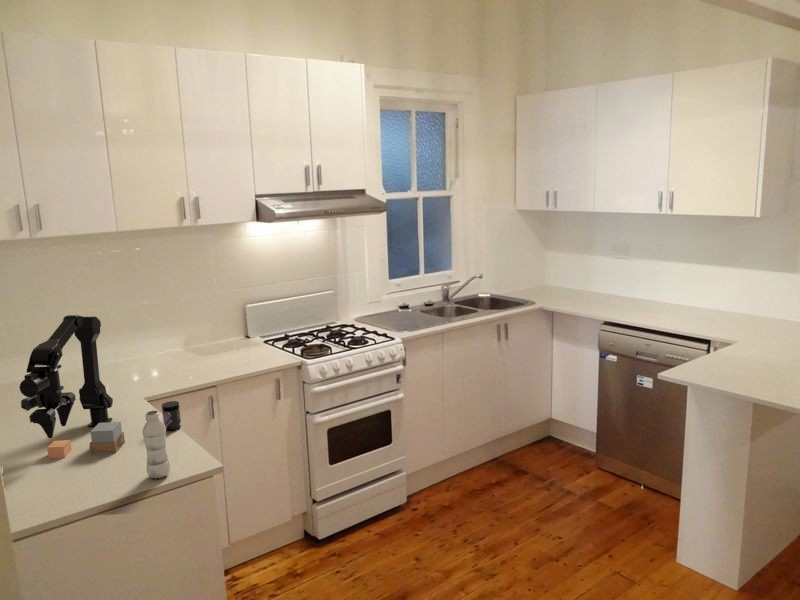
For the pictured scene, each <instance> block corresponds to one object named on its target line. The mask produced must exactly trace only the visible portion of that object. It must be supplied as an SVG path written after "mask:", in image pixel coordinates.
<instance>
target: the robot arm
mask: <svg viewBox="0 0 800 600" xmlns="http://www.w3.org/2000/svg"><path fill="white" fill-rule="evenodd" d="M101 327H102V322H101V320H100V318H98V317H97V316H82V315H79V314H75V315H72V314H70V315H69V314H68V315H65V316H64V317H63V319H62V322H61V323H60V324H59V325H58V327H57V328H56V329H55V331H54V332H53V333H52V334H51V336H50V337H49V338H48V339H47V340H46V341H43V342H42V343H39V344H38V345H37V346H35V347H34V348H33V350H32V351H31V353H30V355H29V359H28V364H27V368H26V373H27V374H25V375H24V377H23V378H24V379H23V380H22V381H20V383H19V391H20V393H21V394H22V395H23V396H24V397H26V398H23V399H22V400H21V401H20V405H21V406H20V408H21V409H23V410H24V411H26V412H28V411H30V410H31V409H34V408H36V407H37V409H35V410H34V411H33V412H31V413H30V415H28V416H29V417H28V418H29V423H34V424H37V425H39V426H40V427H41V428H42V430H43V431H44V433H45V434H46V436H47V438H48V439H52V438H53V437H54V434H55V433H54V432H55V428H56V422H57V416H56V415H58V419H59V422H60V425H61V427H66V426H67V422H68V420H69V416H70V414H71V411H72V410H73V409H72V408H73V406H74V404H75V401H76V400H77V399H76V395H75V393H74V392H72V391H71V392H70V391H69V392H66V391H65V392H62V391H63V390H64V389H65V388H64V385H61V380H60V373H59V369H61V368H62V364H60V361H61V358H62V357H63V355H64V354H63V348H64V347H65V345H66V344H67V343H68V342H69V340H70V339H71V338H72V336H73V335H74V337H76V339H77V340H78V341H79V343H80V351H81V361H82V370H83V371H82V373H83V385H81V388H79V390H78V394H79V402H80V404H81V407H82V409H83V410H89V415H90V421H91V422H90V423H89V424H88V425H87V427H88V428H92V427H93V428H94V427H95V426H96V425H97V424H98V423H106V422H112V421H113V418H112V417H109V412H108V409H110V408H112V406H113V403H114V402H113V401H114V400H113V397H111V396H110V395H109V394H108V393H107V388H106V386H105V385H104V384H103V382H102V381H101V379H100V377H101V376H100V367H99V360H98V359H99V358H98V357H99V356H98V348H97V339H98V338H99V336H100V334H101ZM56 412H57V413H56Z"/></svg>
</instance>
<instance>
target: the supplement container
mask: <svg viewBox="0 0 800 600" xmlns="http://www.w3.org/2000/svg"><path fill="white" fill-rule="evenodd" d="M161 410H162V411H161V412H162V420H163V421H162V422H163V423H164V425H165V427H166V430H167V431H166V432H175V431H177V430H176V429H178V430H180V429H181V428H182V419H181V418H182V417H181V409H180V402H179V401H178V400H177V401H176V400H174V401H173V400H172V401H166V402H163V403H162V404H161ZM174 430H175V431H174Z"/></svg>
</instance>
